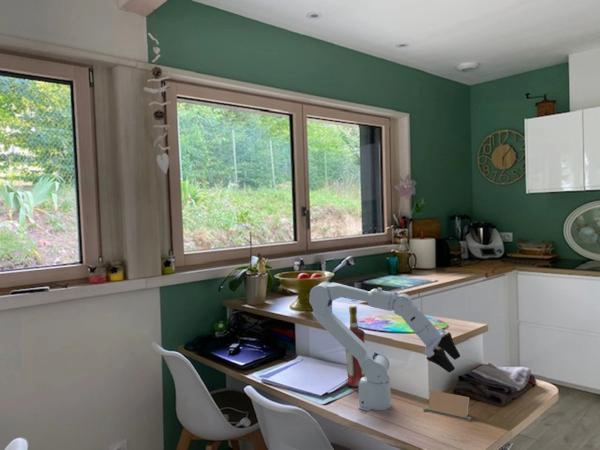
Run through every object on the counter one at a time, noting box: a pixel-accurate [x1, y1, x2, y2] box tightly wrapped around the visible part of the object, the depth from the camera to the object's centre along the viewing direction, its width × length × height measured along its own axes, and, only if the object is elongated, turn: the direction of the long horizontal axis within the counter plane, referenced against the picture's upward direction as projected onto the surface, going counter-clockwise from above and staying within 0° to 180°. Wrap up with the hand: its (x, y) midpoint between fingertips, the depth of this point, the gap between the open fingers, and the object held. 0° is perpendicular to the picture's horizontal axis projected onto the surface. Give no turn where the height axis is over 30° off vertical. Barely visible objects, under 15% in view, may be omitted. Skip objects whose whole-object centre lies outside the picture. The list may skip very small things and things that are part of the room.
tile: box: [427, 389, 470, 421], centre depth 131 cm, size 11×6×1 cm
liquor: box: [344, 305, 366, 389], centre depth 158 cm, size 7×7×28 cm
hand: (454, 364), depth 132 cm, fingers open, 7 cm apart
